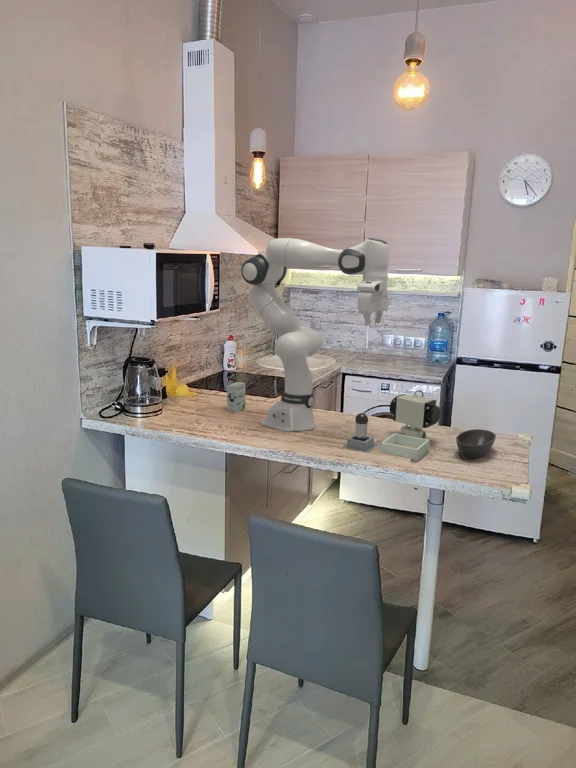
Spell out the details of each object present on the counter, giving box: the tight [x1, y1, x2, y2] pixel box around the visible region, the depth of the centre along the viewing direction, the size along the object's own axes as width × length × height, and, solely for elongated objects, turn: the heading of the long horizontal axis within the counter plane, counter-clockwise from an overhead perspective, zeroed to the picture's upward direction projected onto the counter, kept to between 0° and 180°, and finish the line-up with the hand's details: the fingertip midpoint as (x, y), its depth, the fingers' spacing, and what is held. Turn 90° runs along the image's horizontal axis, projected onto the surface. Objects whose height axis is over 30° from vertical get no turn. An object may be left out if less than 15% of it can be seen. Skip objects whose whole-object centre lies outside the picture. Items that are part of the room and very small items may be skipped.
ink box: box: [226, 381, 246, 414], centre depth 257 cm, size 9×5×12 cm, turn 155°
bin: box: [380, 433, 430, 463], centre depth 205 cm, size 13×13×4 cm
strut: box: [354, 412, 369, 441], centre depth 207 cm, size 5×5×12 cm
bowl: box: [455, 428, 497, 460], centre depth 206 cm, size 12×22×6 cm, turn 145°
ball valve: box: [389, 393, 441, 439], centre depth 220 cm, size 18×8×18 cm, turn 48°
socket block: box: [342, 434, 379, 454], centre depth 209 cm, size 10×10×4 cm
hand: (372, 324), depth 209 cm, fingers open, 8 cm apart
